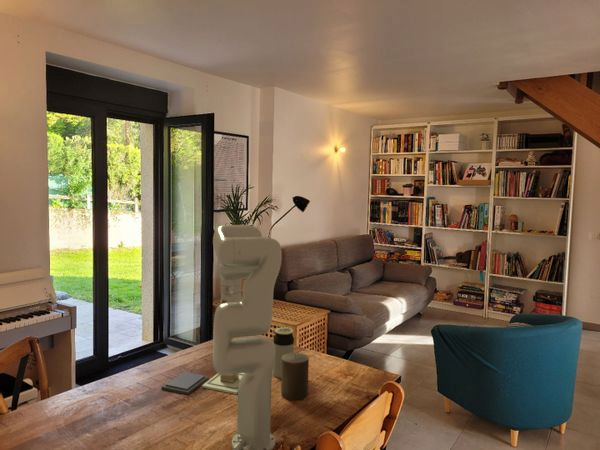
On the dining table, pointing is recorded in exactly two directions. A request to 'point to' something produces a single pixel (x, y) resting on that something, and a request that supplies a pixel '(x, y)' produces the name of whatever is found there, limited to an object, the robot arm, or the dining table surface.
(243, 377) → the robot arm
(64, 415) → the dining table surface
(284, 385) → the pillar candle
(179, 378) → the grey flat block
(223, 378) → the stamp
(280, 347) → the travel mug
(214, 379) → the board
